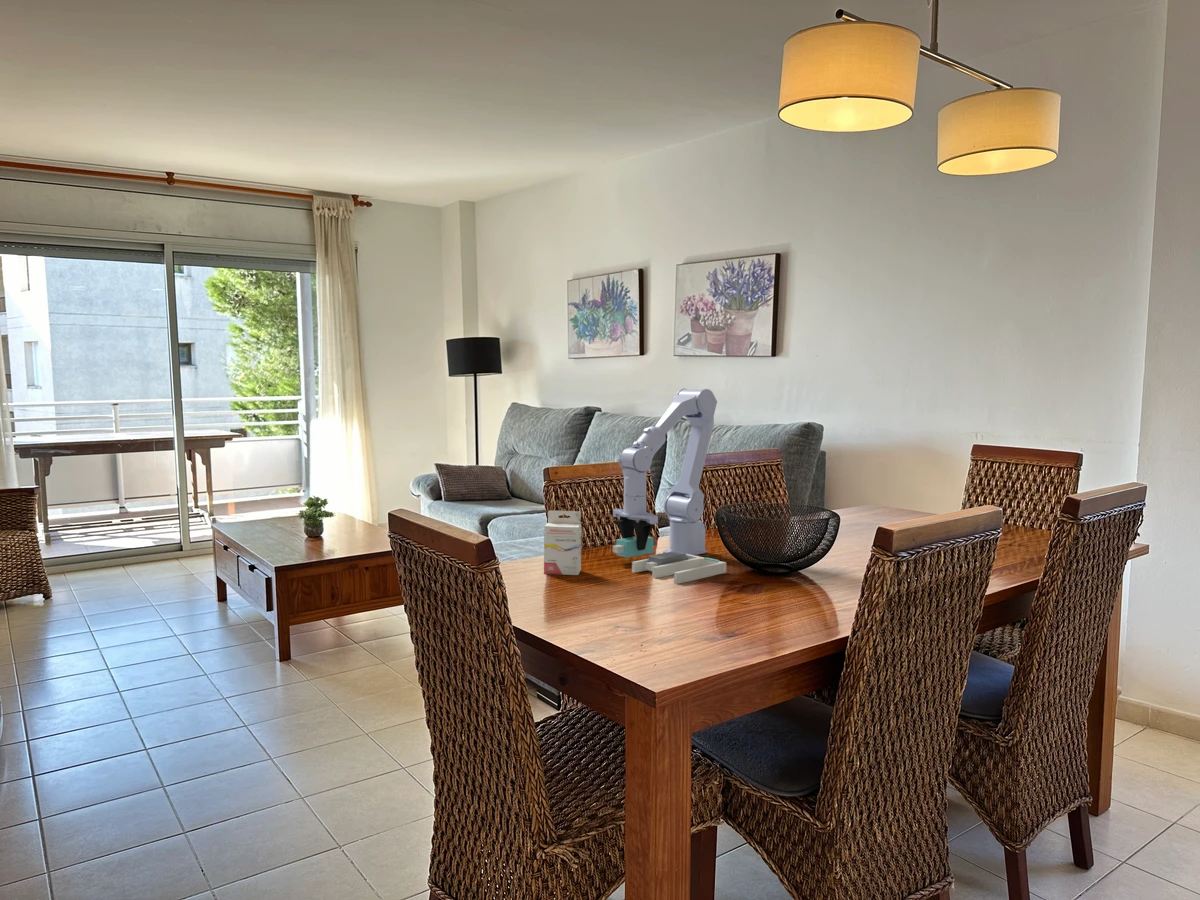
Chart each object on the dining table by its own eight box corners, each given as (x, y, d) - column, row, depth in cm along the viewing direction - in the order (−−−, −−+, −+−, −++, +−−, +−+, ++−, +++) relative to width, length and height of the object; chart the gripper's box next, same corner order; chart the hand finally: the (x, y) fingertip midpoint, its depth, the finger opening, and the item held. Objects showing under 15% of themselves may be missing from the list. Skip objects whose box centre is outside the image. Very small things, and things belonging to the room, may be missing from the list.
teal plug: (648, 549, 215) (648, 534, 215) (659, 551, 212) (659, 536, 212) (610, 556, 207) (610, 540, 207) (620, 558, 204) (620, 542, 204)
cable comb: (679, 561, 210) (680, 551, 210) (726, 572, 199) (726, 561, 199) (631, 572, 199) (631, 561, 199) (677, 584, 188) (677, 572, 187)
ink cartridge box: (543, 574, 196) (543, 513, 195) (546, 569, 201) (546, 510, 200) (579, 575, 195) (579, 514, 194) (581, 570, 200) (581, 510, 199)
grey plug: (679, 565, 207) (679, 549, 207) (691, 568, 204) (691, 552, 204) (642, 573, 198) (642, 557, 198) (654, 576, 196) (654, 559, 195)
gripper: (604, 493, 211) (604, 545, 212) (643, 500, 200) (643, 555, 201) (624, 491, 216) (624, 542, 217) (664, 497, 205) (663, 551, 206)
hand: (634, 548), depth 210 cm, fingers closed on teal plug, 4 cm apart
